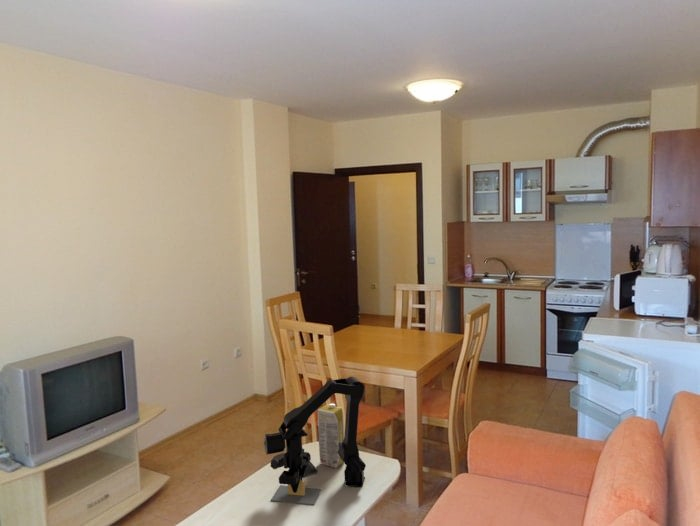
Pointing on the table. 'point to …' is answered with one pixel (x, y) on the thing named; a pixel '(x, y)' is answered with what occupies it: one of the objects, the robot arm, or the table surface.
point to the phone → (310, 469)
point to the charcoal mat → (296, 496)
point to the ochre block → (300, 489)
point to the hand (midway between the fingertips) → (296, 490)
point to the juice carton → (330, 434)
